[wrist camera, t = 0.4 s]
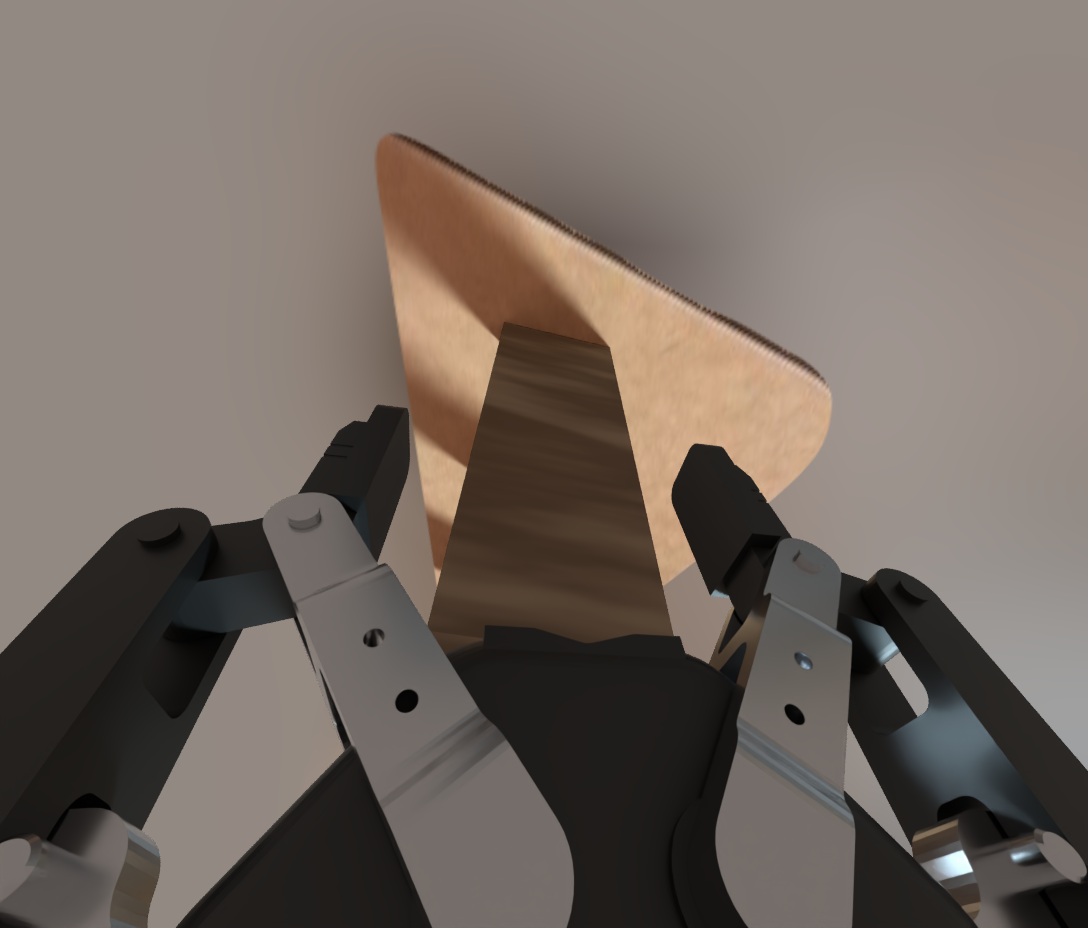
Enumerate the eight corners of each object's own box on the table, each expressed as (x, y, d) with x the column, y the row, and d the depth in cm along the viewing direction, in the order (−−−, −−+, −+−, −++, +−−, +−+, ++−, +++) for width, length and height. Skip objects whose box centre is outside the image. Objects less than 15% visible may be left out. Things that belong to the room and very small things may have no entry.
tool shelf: (558, 490, 51) (559, 881, 25) (476, 475, 50) (389, 870, 24) (609, 347, 39) (712, 809, 13) (504, 322, 38) (388, 780, 12)
